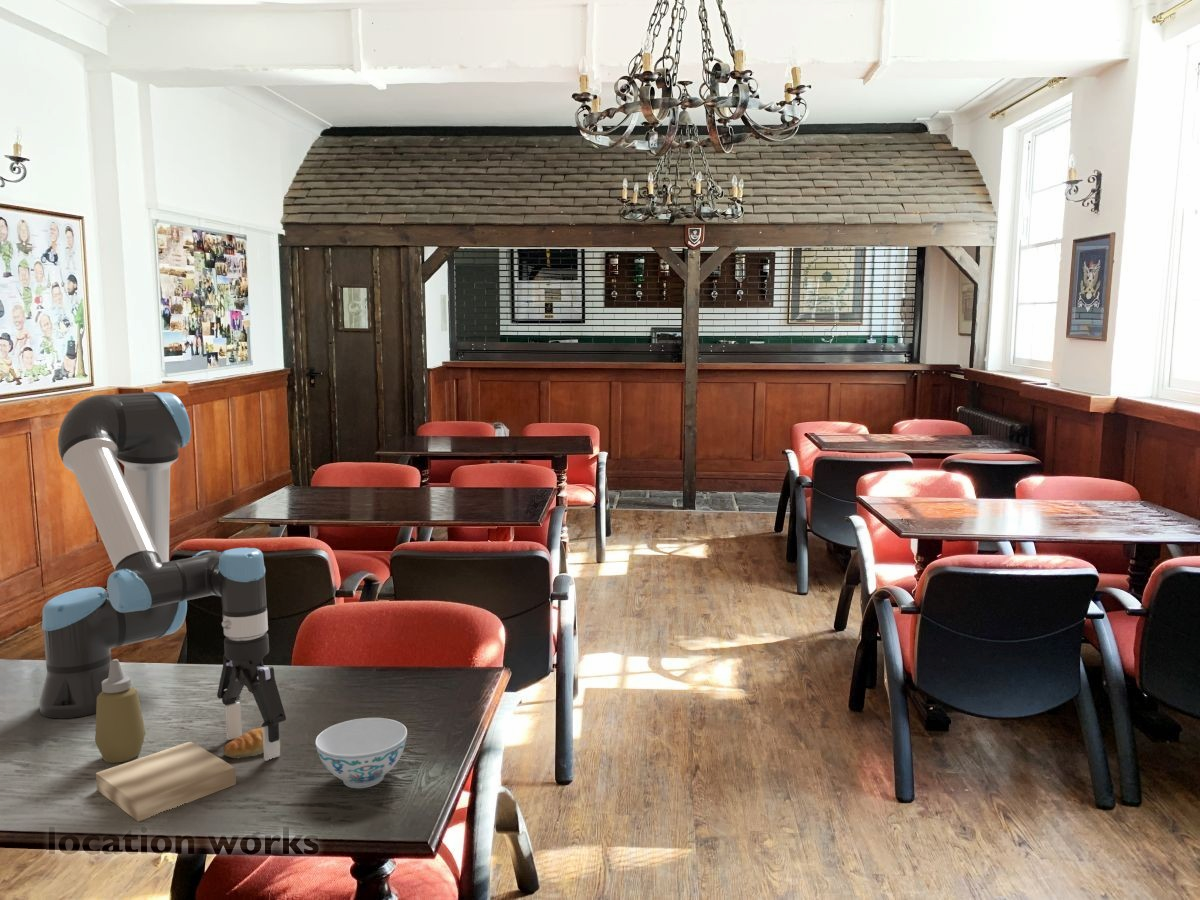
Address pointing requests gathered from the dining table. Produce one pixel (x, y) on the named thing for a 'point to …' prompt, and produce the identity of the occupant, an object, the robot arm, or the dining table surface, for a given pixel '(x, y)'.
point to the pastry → (246, 744)
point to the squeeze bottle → (118, 718)
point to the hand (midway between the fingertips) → (252, 747)
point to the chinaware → (361, 749)
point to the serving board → (165, 780)
